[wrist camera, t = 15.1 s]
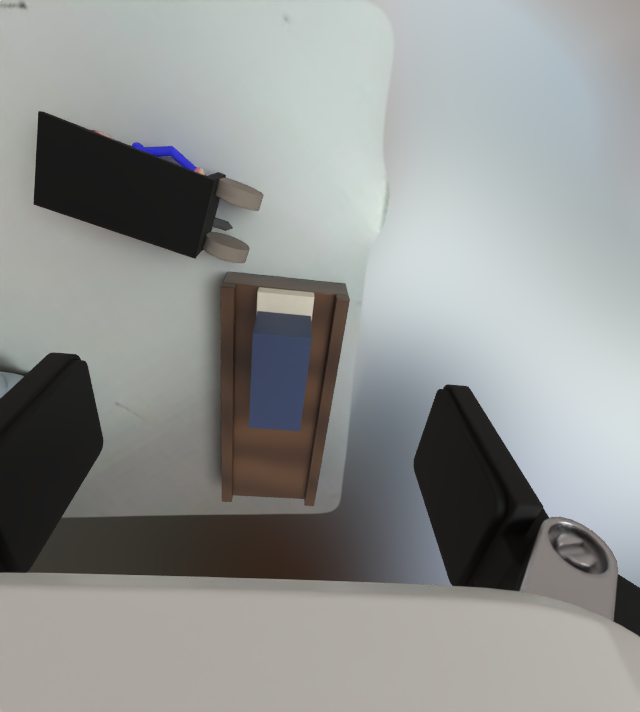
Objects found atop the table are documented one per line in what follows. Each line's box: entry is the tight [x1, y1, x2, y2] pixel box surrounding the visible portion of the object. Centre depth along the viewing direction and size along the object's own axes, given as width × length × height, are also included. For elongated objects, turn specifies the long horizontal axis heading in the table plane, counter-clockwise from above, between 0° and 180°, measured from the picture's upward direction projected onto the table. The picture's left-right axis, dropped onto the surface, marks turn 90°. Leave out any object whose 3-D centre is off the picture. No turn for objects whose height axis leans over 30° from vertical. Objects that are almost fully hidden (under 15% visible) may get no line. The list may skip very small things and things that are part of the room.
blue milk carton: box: [249, 287, 314, 431], centre depth 36 cm, size 12×5×6 cm, turn 173°
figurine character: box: [34, 111, 263, 263], centre depth 31 cm, size 7×8×15 cm
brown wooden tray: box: [221, 272, 350, 506], centre depth 43 cm, size 28×11×4 cm, turn 173°
